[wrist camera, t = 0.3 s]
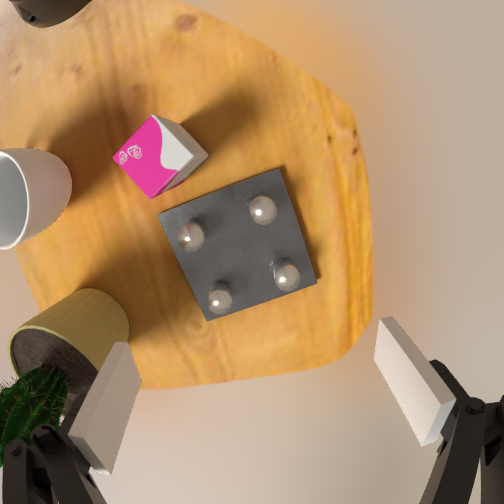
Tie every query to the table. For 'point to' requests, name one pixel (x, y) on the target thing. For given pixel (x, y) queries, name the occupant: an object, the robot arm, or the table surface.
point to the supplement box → (160, 155)
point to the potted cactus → (58, 360)
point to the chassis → (240, 245)
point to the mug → (30, 193)
